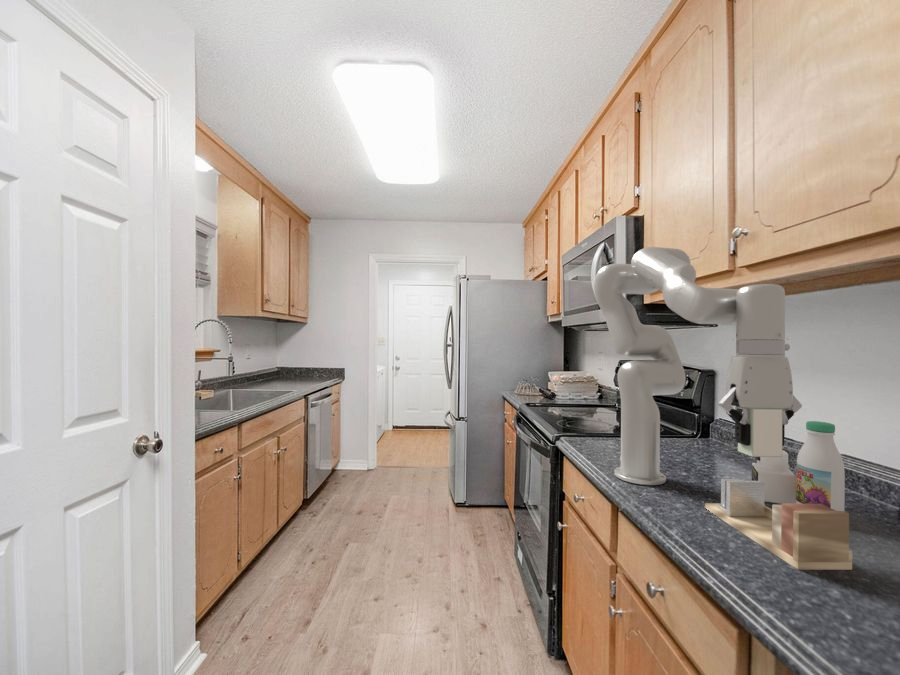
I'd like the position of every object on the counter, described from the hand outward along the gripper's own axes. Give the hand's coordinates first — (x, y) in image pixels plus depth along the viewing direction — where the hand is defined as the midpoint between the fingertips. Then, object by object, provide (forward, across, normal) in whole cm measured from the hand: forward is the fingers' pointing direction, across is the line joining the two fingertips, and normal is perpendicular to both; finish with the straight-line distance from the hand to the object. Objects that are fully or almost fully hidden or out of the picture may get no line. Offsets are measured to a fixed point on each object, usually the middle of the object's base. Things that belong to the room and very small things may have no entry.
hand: (759, 443), depth 79 cm
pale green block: (+2, 0, 0) cm, 2 cm away
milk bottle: (+18, -19, -9) cm, 28 cm away
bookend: (+16, -1, -8) cm, 18 cm away
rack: (+18, -2, 0) cm, 18 cm away
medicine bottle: (+18, -17, -19) cm, 31 cm away
